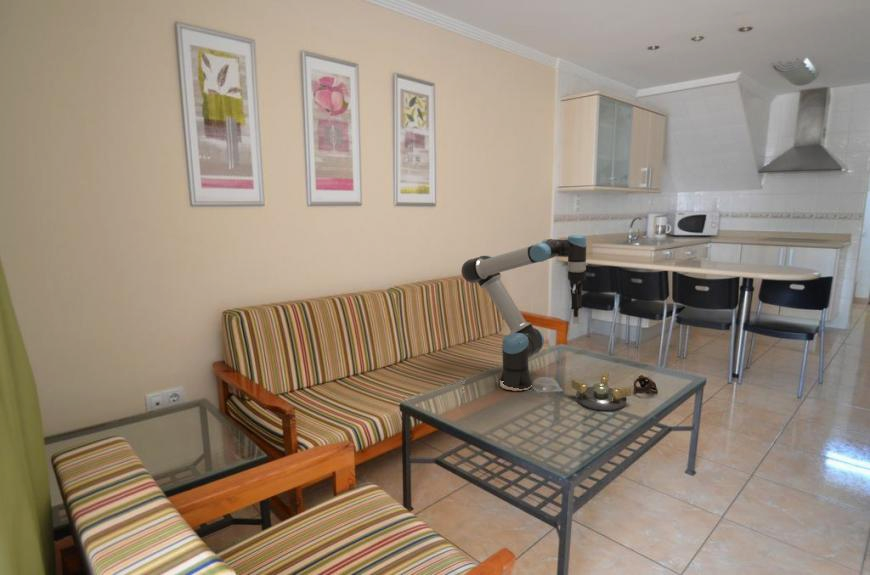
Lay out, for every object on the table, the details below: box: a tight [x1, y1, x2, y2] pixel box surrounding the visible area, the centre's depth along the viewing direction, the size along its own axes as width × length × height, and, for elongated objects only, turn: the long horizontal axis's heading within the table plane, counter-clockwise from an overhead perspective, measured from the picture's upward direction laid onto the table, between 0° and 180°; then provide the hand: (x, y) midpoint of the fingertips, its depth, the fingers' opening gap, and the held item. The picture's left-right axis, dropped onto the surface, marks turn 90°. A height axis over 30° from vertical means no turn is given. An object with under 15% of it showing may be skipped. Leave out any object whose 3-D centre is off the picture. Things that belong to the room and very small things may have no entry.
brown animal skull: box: [633, 374, 659, 394], centre depth 206 cm, size 12×9×8 cm
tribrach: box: [575, 382, 627, 412], centre depth 199 cm, size 20×20×7 cm
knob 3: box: [612, 385, 632, 403], centre depth 193 cm, size 8×3×5 cm, turn 109°
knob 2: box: [600, 371, 610, 386], centre depth 208 cm, size 8×3×5 cm, turn 151°
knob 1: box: [571, 378, 588, 397], centre depth 201 cm, size 8×3×5 cm, turn 20°
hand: (576, 323), depth 210 cm, fingers closed
